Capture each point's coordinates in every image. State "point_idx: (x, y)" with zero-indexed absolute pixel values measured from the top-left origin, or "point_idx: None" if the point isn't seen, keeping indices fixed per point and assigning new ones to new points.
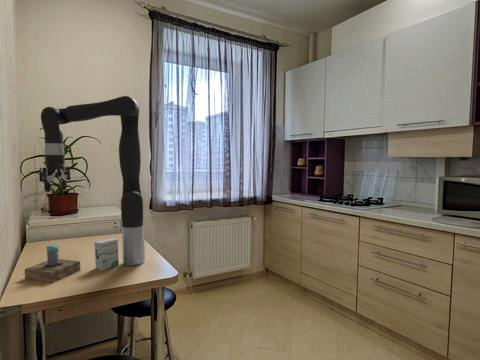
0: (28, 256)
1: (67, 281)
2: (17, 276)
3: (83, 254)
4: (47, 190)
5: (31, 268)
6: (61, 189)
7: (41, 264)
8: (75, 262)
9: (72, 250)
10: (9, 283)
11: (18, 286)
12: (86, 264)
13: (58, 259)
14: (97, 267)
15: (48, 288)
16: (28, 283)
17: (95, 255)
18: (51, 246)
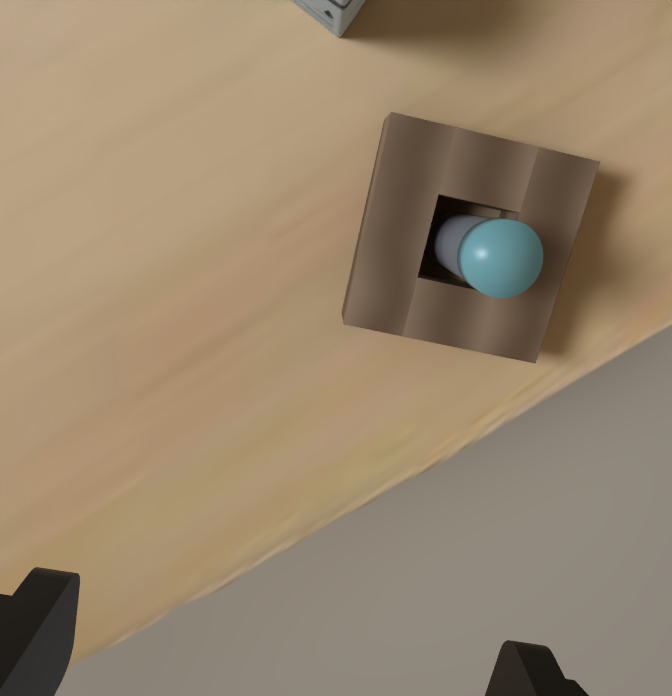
0: (173, 573)
1: (560, 91)
2: (481, 409)
3: (82, 281)
4: (574, 684)
5: (527, 332)
6: (68, 662)
7: (459, 322)
8: (419, 128)
9: (14, 404)
10: (573, 379)
11: (613, 309)
12: (275, 143)
13: (467, 218)
14: (357, 10)
15: (651, 137)
16: (578, 288)
17: (348, 7)
18: (517, 259)
